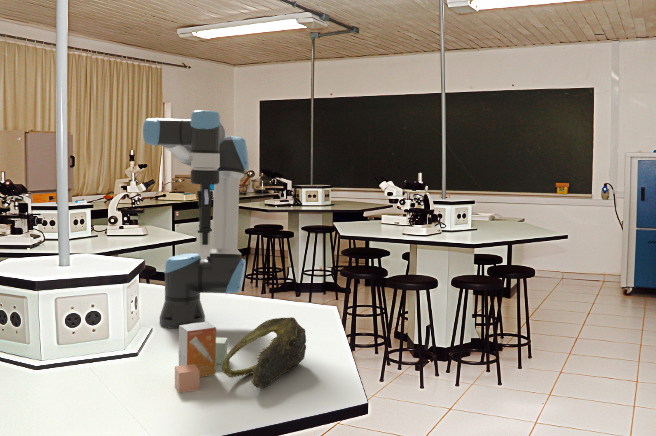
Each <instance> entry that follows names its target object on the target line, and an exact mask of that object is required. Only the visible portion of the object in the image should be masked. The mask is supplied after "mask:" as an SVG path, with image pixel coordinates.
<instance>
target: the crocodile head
mask: <svg viewBox="0 0 656 436" xmlns="http://www.w3.org/2000/svg"><path fill="white" fill-rule="evenodd" d="M270 333H275V334H276V336H275V337H273V338H272V339H271V340H270V342H269V345H267V346H266V347H265V348H262V350H261V351H259V352H258V353H259V354H257V355H256V356H258V358H256V360H257V363H256V364H255V365H253V366H250V367H248V368H242V369H230V366H229V362H230V359H231V358H232V357H233V356H234V355H235V354H236V353H237V352H239V351H240V350H241V349H243V348H244V347H245V346H247V345H248V344H251V343H252V342H254V341H256V340H258V339H259V338H262V337H265V336H267V335H269V334H270ZM306 343H307V336H306V329H305V328H303V327H302V326H301V325H300V324H299V323H298V322H297V320H296V317H295V318H294V317H278V318H277V317H276V318H275V317H274V318H271V319H268V320H265V321H264V322H261V323H260V324H259V325H258V326H257V327H255V328H254V329H253V330H252V331H250V332H249V333H247V334H246V335H245V336H244V337H242V338H240V340H239V341H238V342H237V343H236V344H235V345H233V347H232V348H231V349H230V350H229V351H228V352H227V356H226V358H225V359H224V361H223V364H221V371H222V372H223V374H224V375H226V376H227V377H228V378H231V379H233V378H238V377H240V376H242V377H244V376H248V375H250V374H252V380H251V384H252V385H253V386H254V387H255V388H259V389H261V388H265V387H267V386H269V385H270V384H271V383H272V382H273V381H274V380H276V379H277V378H279V376H281V375H282V376H283V374H285V373H287V372H289V371H291V370H292V369H294V368H296V367H298V366H299V365H300V363H301V362H302V361H304V359H305V355H306V349H307V345H306Z"/></svg>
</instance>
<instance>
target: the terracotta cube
mask: <svg viewBox="0 0 656 436" xmlns="http://www.w3.org/2000/svg"><path fill="white" fill-rule="evenodd" d="M174 387H175V389H176V390H177V392H178V393H186V392H193V391H198V390H199V391H200V377H199V369H198V368H197V366H196V365H195V364H190V365H182V366H179V365H176V366H174Z"/></svg>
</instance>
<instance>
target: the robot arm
mask: <svg viewBox="0 0 656 436" xmlns="http://www.w3.org/2000/svg"><path fill="white" fill-rule="evenodd" d="M220 118H221V116H220V112H218V111H215V110H192V111H191V116H190V119H188V118H187V119H185V118H183V119H182V118H181V119H180V118H161V117H160V118H159V117H155V118H154V117H153V118H150V117H149V118H146V119H145V120H144V122H143V126H142V136H143V141H144V143H145V144H146V145H148V146H149V145H150V146H155V147H157V146H162V147H163V148H164V149H166V150H167V151H169V152H170V153H171V154H172V156H173V158H174V159H175V160H177V162H180V163H181V164H183V165H186V166H188V167H191V168H192V169H191V171H190V183H191V184H193V185H200V186H199V190H198V189H197V190H196V191H197V192H196V195H197V201H198V202H197V205H198V208H199V209H198V213H199V214H198V217H199V218H198V222H199V224H198V227H199V229H198V230H197V233H198V234H199V243H198V245H199V250H198V251H199V253H194V252H193V253H191V252H190V253H183V254H182V253H181V254H177V255H173V256H169V257H168V258H167V259H166V260H165V264H164V272H163V273H164V302H163V306H162V308H161V311H160V315H159V325H161V326H162V327H164V328H170V329H179V325H186V324H192V323H201V322H206V315H205V310H204V309H203V304H202V302H201V294H237V293H239V292H240V291H241V289H242V287H243V283H244V280H245V279H244V278H245V273H246V262H247V261H246V259H244V258H242V253H241V252H240V251H239V250H238V242H239V241H238V239H239V238H238V237H239V236H238V235H239V210H240V209H239V208H240V207H239V205H240V204H239V203H240V181H241V180H242V178H243V177H245V171H249V169H250V168H249V166H250V165H249V155H248V154H249V153H248V147H247V142H246V140H245V138H244V137H242V136H235V135H226V131H225V128H224V126H223V125H222V123H221V121H220V120H221V119H220ZM211 185H213V190H211ZM212 208H213V210H212ZM212 213H213V214H212ZM211 216H212V220H211ZM211 221H212V223H211ZM211 224H212V227H211ZM211 232H212V234H211ZM211 235H212V236H211ZM203 257H204V258H203ZM205 257H206V258H205Z"/></svg>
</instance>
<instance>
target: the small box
mask: <svg viewBox="0 0 656 436" xmlns="http://www.w3.org/2000/svg"><path fill="white" fill-rule="evenodd" d="M216 337H217V327H216V326H215V325H213V324H212V323H210V322H209V321H205V322H201V323H192V324H186V325H179V328H178V366H182V365H190V364H195V365H196V366H197V368H198V369H199V378H203V377H209V376H213V375H215V374H216V364H215V360H216Z"/></svg>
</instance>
